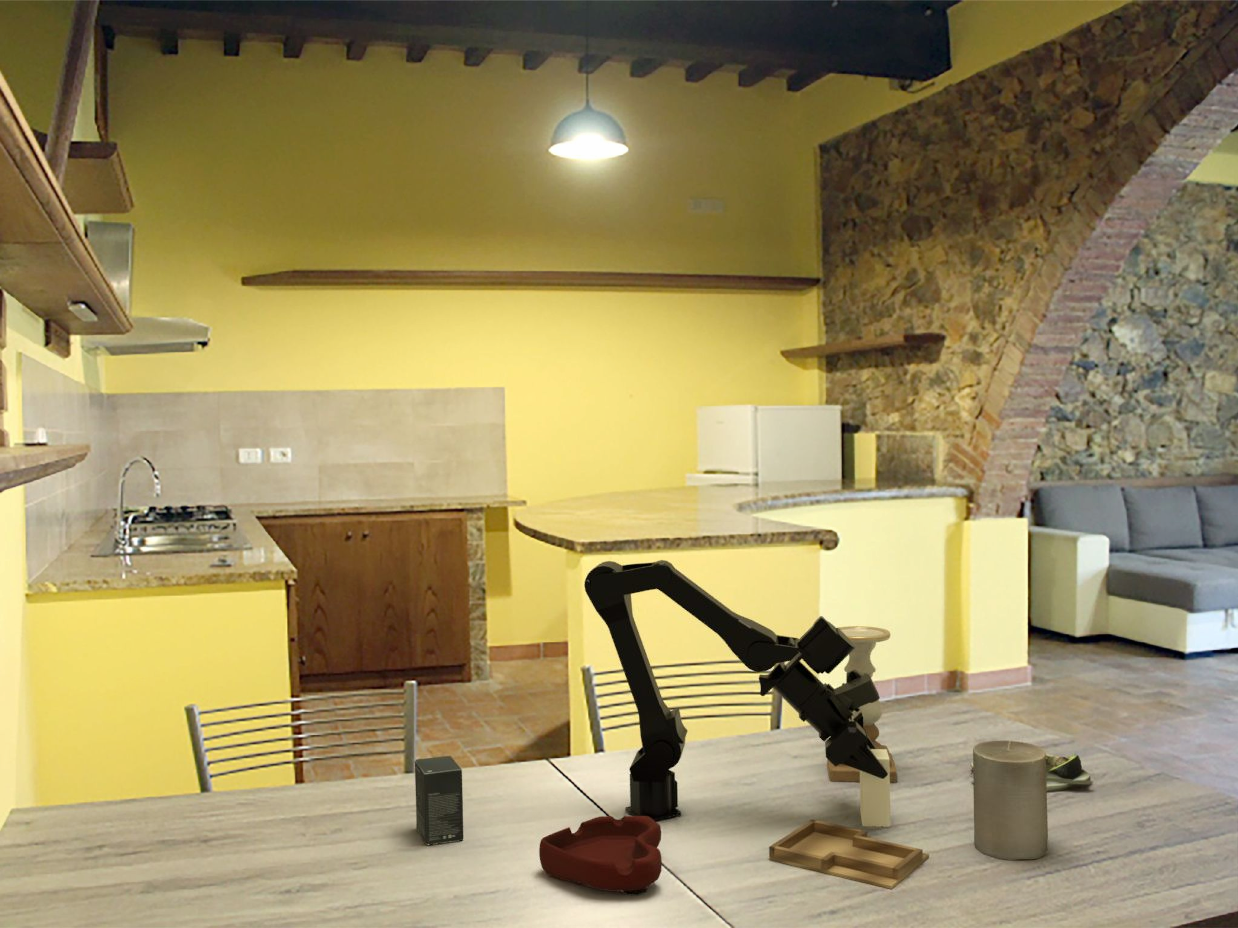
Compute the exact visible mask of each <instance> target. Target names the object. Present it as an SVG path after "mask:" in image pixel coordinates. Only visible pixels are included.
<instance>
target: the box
mask: <svg viewBox="0 0 1238 928" xmlns="http://www.w3.org/2000/svg"><path fill="white" fill-rule="evenodd" d="M414 779H415V780H414V782H415V783H414V784H415V814H416V815H415V818H416V821H415V823H416V825H415V826H416V830H417V832H418V834H419V835H420V836H421V838H422V840H423V842H424V844H425V845H426V846H429V845H428V844H433V845H439V844H438V843H442V844H447V843H446V842H449V843H451V842H450V841H456V842H459V841H458V840H462V841H464V807H463V805H464V802H463V801H464V799H463V797H464V796H463V769H462V768H461V767H460V765H458V763H457V762H456V760H455V759H454V758H453V757H452V756H451V755H445V756H436V757H435V756H434V757H428V758H427V757H425V758H418V759H415V760H414Z"/></svg>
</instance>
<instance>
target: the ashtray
mask: <svg viewBox="0 0 1238 928" xmlns="http://www.w3.org/2000/svg"><path fill="white" fill-rule="evenodd" d="M661 829H662V827H661V825H660V824H659V823H658V822H656V820H655V821H654V820H653V819H652V818H650V817H648V816H633V815H627V816H625V815H624V816H623V817H621V818H619V819H616V818H615V817H614V816H612V815H611V816H608V815H604V816H603V815H601V816H597V817H593V818H590V819H589V820H588V819H587V820H585V821H582V822H581V823H580V825H579V827H578V829H577V830H576V831H575V832H572V829H571V827H570V826H568V827H566V828H564V829H561V830H558V831H555V832H553V833H551V834H548V835H546V836H545V837H544V836H543V838H541V840H540V842H539V848H538V850H539V851H538V853H539V854H538V855H539V861H540V866H541V868H542V870H543V871H544V872H545V873H546V874H547V875H549V876H550V877H553V878H556V879H559V880H563V881H568V882H571V883H572V882H573V883H576V884H581V885H583V886H587V887H589V888H593V889H597V890H602V891H609V892H611V891H612V892H622V893H623V894H625V895H630V896H638V895H642V894H644V893H645V892H646V891H647V888H649V887H651V886H652V885H653V884H654V883H655V882H656V881H658V880H659V878H660V875H661V873H662V862H663V861H662V853H661V850H660V849H659V848H658V847H659V845H660V843H661V840H662V830H661Z"/></svg>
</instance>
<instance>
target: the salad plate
mask: <svg viewBox="0 0 1238 928" xmlns="http://www.w3.org/2000/svg"><path fill="white" fill-rule="evenodd" d="M969 766H970V767H971V769H972V770H973V761H972V762H971V763H970V765H969ZM970 778H972V779H973V772H971V773H970ZM1046 781H1047V792H1050V791H1051V792H1053V791H1067V790H1070V791H1071V790H1078V789H1082V788H1083V787H1085V786H1087V785H1091V784H1094V782H1093V781H1092V780H1091V774H1090V773H1089V772H1087V770H1084V768H1083V767H1082V760H1081V758H1080V755H1078V754H1073V755H1071V756H1068V757H1065V756H1057V755H1055V754H1051V753H1046Z"/></svg>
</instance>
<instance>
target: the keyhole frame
mask: <svg viewBox="0 0 1238 928" xmlns="http://www.w3.org/2000/svg"><path fill="white" fill-rule="evenodd" d="M768 853H769V858H768V859H769V860H770V861H773V862H777V863H781V864H787V865H789V866H794V867H799V868H803V869H806V870H809V871H815V872H819V873H823V874H828V875H832V876H836V877H839V878H840V877H841V878H844V879H848V880H851V881H857V882H860V883H864V884H869V885H873V886H876V887H881V888H885V889H889V890H892V889H893V888H895V887H896V886H897V885H898V884H899V883H901V882H902V881H903V880H904V879H905V878H906V877H909V875H910V874H911V873H912V872H914V871H915V870H916V869H917V868H918V867H920V866H921V865H922V864H923V863H924V862H926V861H927V860H928V859H929V858H930V854H928V853H924V851H923V849H922V848H919V847H918V848H917V847H913V846H908V845H903V844H899V843H893V842H890V841H884V840H880V839H876V838H871V837H868V831H867V830H863V829H858V828H854V827H849V826H846V825H845V826H844V825H839V824H835V823H830V822H827V821H826V822H825V821H821V820H815V819H810V820H809V821H807V822H806V823H804V824H802V825H801V826H799V827H798V828H796V829H795V830H793V831H792V832H790V833H789V834H787V835H785V836H784V837H782V838H781V839H779V840H777V841H776V842H774V843H772V844H771V845H770V846H768Z"/></svg>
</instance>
